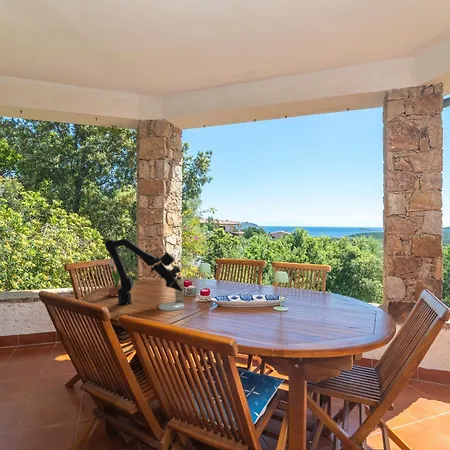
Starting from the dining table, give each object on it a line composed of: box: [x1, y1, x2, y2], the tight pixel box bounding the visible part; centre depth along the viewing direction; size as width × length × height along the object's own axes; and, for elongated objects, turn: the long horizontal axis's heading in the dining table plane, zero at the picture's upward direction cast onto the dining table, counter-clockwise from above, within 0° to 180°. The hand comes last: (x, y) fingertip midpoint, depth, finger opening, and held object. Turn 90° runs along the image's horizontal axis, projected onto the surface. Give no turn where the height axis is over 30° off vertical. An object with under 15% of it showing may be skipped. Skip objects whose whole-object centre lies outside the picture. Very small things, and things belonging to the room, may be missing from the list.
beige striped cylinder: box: [174, 275, 185, 304], centre depth 201 cm, size 5×5×16 cm
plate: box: [158, 301, 185, 312], centre depth 189 cm, size 14×14×1 cm
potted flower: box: [107, 258, 121, 297], centre depth 222 cm, size 12×10×25 cm
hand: (181, 289), depth 201 cm, fingers closed on beige striped cylinder, 5 cm apart
